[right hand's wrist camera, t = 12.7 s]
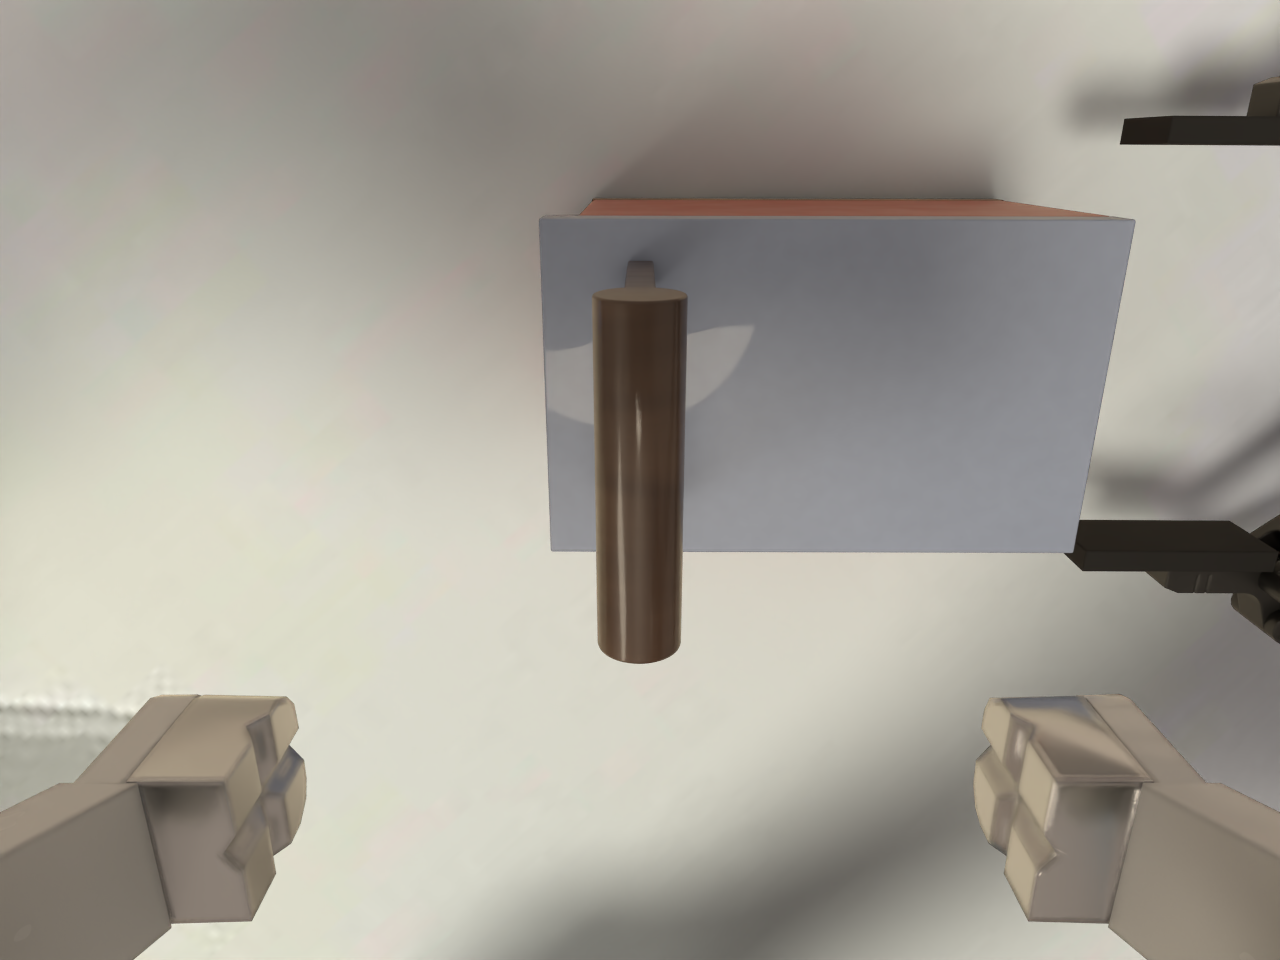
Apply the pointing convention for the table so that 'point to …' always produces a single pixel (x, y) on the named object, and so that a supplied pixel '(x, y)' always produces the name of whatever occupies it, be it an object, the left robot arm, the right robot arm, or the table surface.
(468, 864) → the table surface
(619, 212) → the chest
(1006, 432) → the lid
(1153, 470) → the table surface
